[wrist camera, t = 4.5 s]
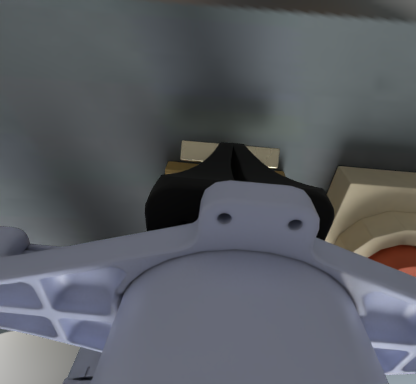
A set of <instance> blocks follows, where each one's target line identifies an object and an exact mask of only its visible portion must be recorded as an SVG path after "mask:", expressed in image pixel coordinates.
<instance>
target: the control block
mask: <svg viewBox="0 0 416 384" xmlns="http://www.w3.org/2000/svg"><path fill="white" fill-rule="evenodd" d="M327 196H328V198H329V200H330V202H331V204H332V206H333V208H334V214H335V216H334V220H333V223H332V226H331V228H330V230H329V232H328V234H327V237H326V239H325V241H326V242H329V243H331V244H334V245H336V246H339V247H341V248H344V249H346V250H349V251H351V252H354V253H356V254H359V255H361V256H364V257H366V258H368V257H370V256H372V255H373V254H375V253H376V252H378V251H380V250H381V249H385V248H389V247H393V246H397V245H401V244H402V245H411V246H414V247H416V173H413V172H401V171H390V170H379V169H367V168H356V167H344V166H338V168H337V170H336V173H335V175H334V178H333V180H332V183H331V185H330V188H329V190H328V193H327Z"/></svg>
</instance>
